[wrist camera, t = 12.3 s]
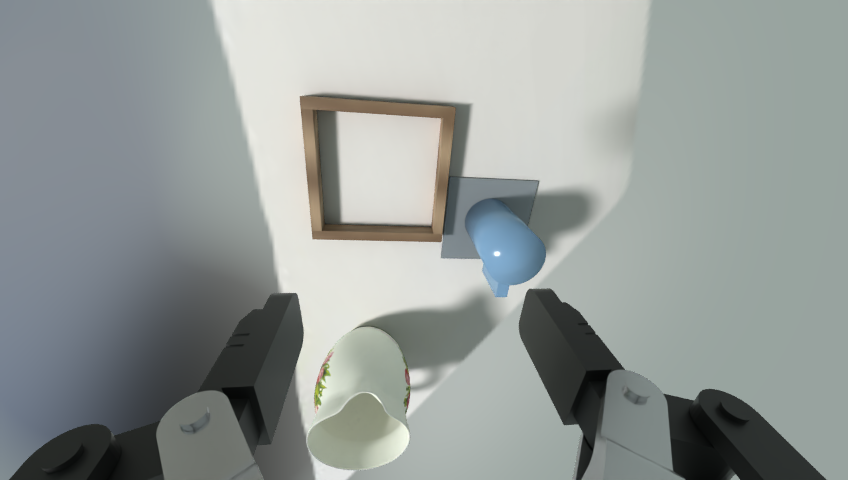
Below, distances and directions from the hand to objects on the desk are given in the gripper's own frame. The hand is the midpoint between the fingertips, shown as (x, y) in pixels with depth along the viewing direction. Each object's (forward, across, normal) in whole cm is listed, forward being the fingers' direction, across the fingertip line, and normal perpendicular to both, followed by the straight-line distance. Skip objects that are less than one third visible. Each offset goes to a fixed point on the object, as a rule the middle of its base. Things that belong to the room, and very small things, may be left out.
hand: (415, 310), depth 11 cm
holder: (+24, +2, +2) cm, 25 cm away
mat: (+24, -10, +7) cm, 27 cm away
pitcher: (+24, +4, +27) cm, 36 cm away
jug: (+24, -10, +9) cm, 28 cm away
